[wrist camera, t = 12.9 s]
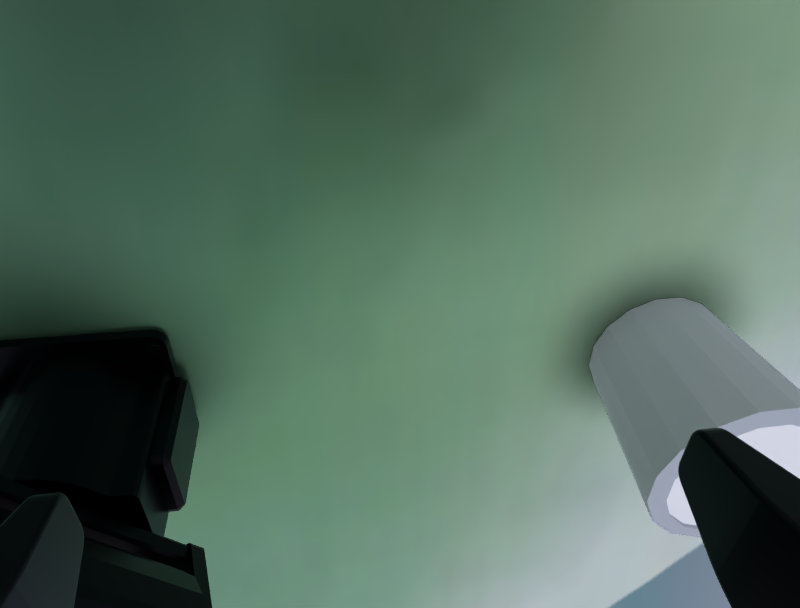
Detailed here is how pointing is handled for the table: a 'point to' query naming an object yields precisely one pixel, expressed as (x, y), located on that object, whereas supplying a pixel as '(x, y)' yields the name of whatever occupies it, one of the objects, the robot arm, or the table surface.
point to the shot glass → (688, 397)
